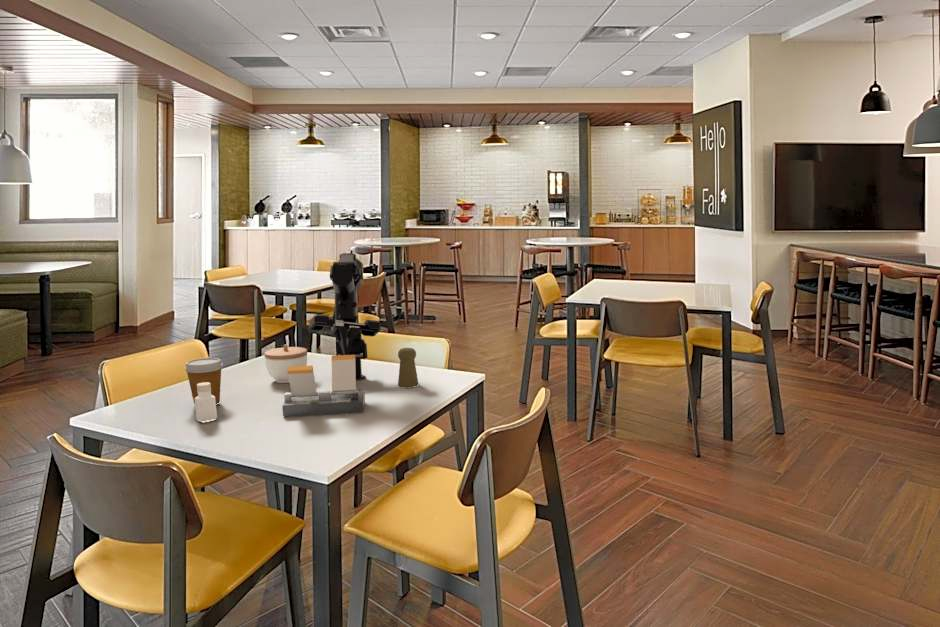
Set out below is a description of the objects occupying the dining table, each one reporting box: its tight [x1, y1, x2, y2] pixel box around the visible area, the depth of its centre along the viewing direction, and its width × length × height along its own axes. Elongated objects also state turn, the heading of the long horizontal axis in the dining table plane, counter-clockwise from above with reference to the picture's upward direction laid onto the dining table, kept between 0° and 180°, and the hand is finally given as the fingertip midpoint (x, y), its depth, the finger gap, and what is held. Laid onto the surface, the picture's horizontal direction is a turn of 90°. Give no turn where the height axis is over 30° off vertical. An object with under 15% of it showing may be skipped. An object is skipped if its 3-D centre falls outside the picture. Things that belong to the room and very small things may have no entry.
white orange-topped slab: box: [287, 365, 319, 397], centre depth 169 cm, size 1×7×10 cm
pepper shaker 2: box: [194, 382, 218, 421], centre depth 166 cm, size 4×4×10 cm
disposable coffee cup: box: [184, 357, 224, 405], centre depth 180 cm, size 10×10×12 cm
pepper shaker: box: [397, 347, 419, 388], centre depth 195 cm, size 6×6×11 cm
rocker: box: [330, 354, 358, 395], centre depth 174 cm, size 1×7×10 cm, turn 96°
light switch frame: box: [282, 388, 366, 417], centre depth 173 cm, size 9×20×5 cm, turn 96°
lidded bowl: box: [264, 344, 308, 384], centre depth 204 cm, size 13×13×11 cm
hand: (345, 354), depth 181 cm, fingers closed
